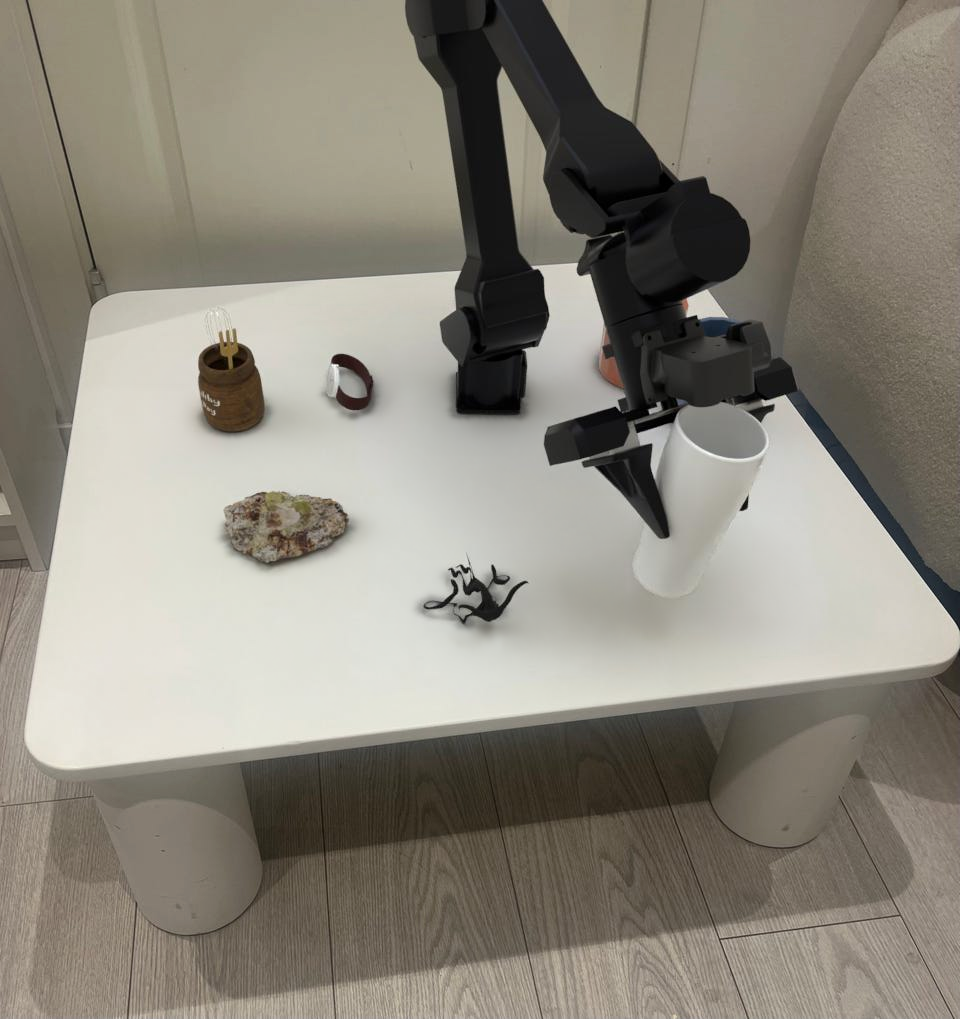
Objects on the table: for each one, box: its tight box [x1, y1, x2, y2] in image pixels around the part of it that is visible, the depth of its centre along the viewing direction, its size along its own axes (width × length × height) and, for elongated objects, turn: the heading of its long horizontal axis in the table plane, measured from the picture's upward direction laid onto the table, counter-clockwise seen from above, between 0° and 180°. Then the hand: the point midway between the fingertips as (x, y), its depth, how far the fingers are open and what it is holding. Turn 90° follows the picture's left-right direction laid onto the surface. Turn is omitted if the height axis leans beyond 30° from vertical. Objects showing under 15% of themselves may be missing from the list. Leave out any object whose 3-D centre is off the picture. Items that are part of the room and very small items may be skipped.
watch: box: [325, 353, 375, 411], centre depth 102 cm, size 8×5×4 cm, turn 16°
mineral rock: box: [223, 490, 350, 564], centre depth 88 cm, size 11×4×8 cm
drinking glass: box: [632, 402, 770, 599], centre depth 75 cm, size 7×7×15 cm
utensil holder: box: [197, 307, 265, 432], centre depth 96 cm, size 6×6×12 cm
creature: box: [423, 552, 530, 624], centre depth 82 cm, size 8×5×8 cm
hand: (703, 524), depth 74 cm, fingers closed on drinking glass, 6 cm apart
